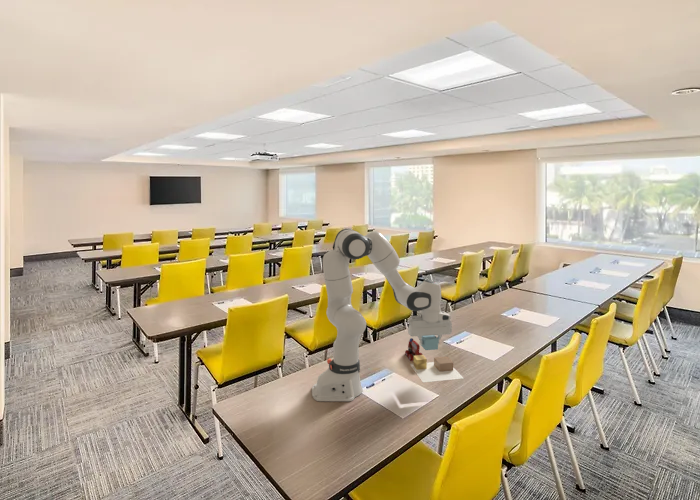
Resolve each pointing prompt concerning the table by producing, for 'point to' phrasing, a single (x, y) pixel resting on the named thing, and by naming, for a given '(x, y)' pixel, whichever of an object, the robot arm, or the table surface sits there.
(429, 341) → the teal block
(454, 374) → the board
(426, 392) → the table surface
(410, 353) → the toy fire truck
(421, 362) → the ochre block
